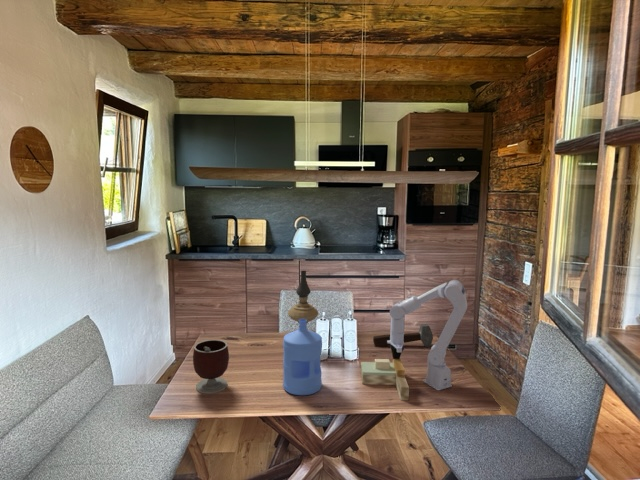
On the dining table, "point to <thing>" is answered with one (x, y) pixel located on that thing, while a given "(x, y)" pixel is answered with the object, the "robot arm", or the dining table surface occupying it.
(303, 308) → the oil lamp
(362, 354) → the dining table surface
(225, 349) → the mate gourd
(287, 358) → the water jug
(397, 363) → the golden block
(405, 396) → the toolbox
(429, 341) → the hammer
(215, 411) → the dining table surface
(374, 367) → the lid
